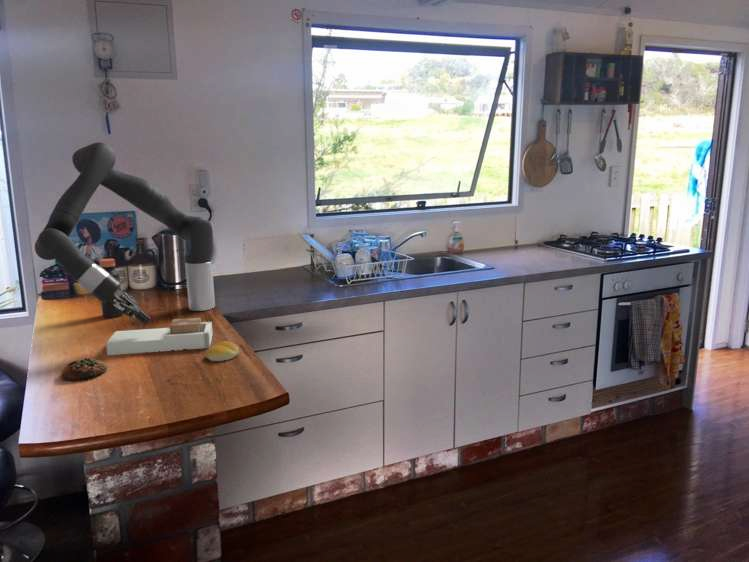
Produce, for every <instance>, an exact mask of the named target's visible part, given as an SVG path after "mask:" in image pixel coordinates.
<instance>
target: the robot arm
mask: <svg viewBox="0 0 749 562" xmlns="http://www.w3.org/2000/svg"><path fill="white" fill-rule="evenodd" d="M115 153H116V152H114V149H113V148H112V147H111V146H110V145H108V144H107V143H104V142H102V141H101V142H94V143H91V144H87V145H86V146H83V147H80V148H79V149H77V150H76V151H74V153H73V154H72V160H71V161H72V164H73V166H74V168H75V169H76V170H77V172H78V173H80V174H79V175H78V176H77V178H76V179H75V180H74V181H73V182H72V184H70V186H69V187H68V188H67V189H66V190H65V191H64V193H63V194H62V195H61V196H60V198H59V199H58V201H57V202H56V204H55V206H54V207H53V209H52V212H51V213H50V216H49V218H48V221H47V224H46V225H45V227H44V228H43V230H42V231H41V232H40V233H39V235H38V236H37V239H36V241H35V244H34V252H35V253H36V255H37V256H38V257H39V258H40V259H42V260H46V261H52V260H55V259H56V260H57V261H58V262H59V263H60V264H61V266H62V270H63V272H65V273H66V274H67V276H69V277H70V278H72V279H73V280H74V281H75V282H77V283H78V285H80V286H81V287H82V288H83V289H84V290H86V291H87V292H88V293H90V295H92V296H93V297H95V298H96V299H97V300H98V301H100V303H101V302H102V303H104V302H106V301H107V300H108V299H109V300H110V301H111V302H112V303H113V305H114V306H115V307H116V308H115V310H116V311H118V312H120V313H123V315H125V316H126V317H129V318H132V317H133V318H136V319H137V320H138V321H140V322H141V323H142V324H143V325H147V324H149V323H148V322H149V321H151V316H149V315H148V314H147V313H146V312H144V311H143V310H142V308H141V305H140V304H139V303H138V301H137V300H136V299H135V298H134V296H133V295H132V294H131V293H127V292H125V291H123V290H122V289H121V290H119V289H118V288H119V287H120V286H122V283H121V281H120V282H119V281H118V280H117V279H116V278H114V277H113V276H112V275H111V274H109V273H108V272H107V271H106V270H104V269H103V268H102V267H100V265H98V264H97V263H95V262H94V261H93V260H92V259H90V257H88V256H86V255H85V254H84V253H83V252H82V251H81V250H80V249H79V247H78V246H77V244H75V243H74V241H73V240H72V239H71V238H70V235H71V233H72V232H73V230H74V229H75V227H76V226H77V225H78V222H79V220H80V218H81V217H82V214H83V213H84V211H85V209H86V207H87V206H88V203H90V200H91V198H92V197H93V195H94V194H95V192H96V191H97V189H98V188H99V186H100V185H101V186H102V187H104V188H107V189H108V190H109V191H111V192H112V193H114V194H116V195H117V196H118V197H120V198H122V199H123V200H125V201H127V202H128V203H130V204H131V205H132V206H133V207H136V208H137V209H138V210H139V211H141V212H143V213H144V214H146V215H147V216H149V217H151V218H153V219H154V220H156V221H158V222H160V223H161V224H163V225H165V226H166V227H167V228H169V229H170V230H171V231H172V232H173V233H175V235H176V236H178V237H179V238H180V239H181V240H184V241H185V242H188V243H190V244H189V245H190V247H189V249H190V250H189V252H186V253H185V255H184V265H185V277H186V289H187V300H188V301H187V302H188V309H189V310H190V311H193V312H202V311H208V310H213V309H214V307H215V308H216V300H215V299H216V298H215V288H214V287H215V286H214V274H213V272H214V271H213V263H212V262H213V261H212V259H213V258H212V255H213V254H214V234H213V233H214V232H213V231H214V230H213V226H212V224H211V222H210V220H208V219H207V218H205V217H202V216H192V215H190V214H187V213H185V212H184V211H182V210H181V209H179V208H178V207H176V206H174V204H173V203H172V202H171V200H170V198H169V197H168V196H167V195H166V193H165V192H164V191H162V190H161V189H160V188H158V187H157V186H155V185H154V184H153V183H151V182H150V181H147V180H146V179H144V178H141V177H138V176H134V175H132V174H128V173H125V172H122V171H120V170H118V169H116V168H114V167H115V164H116V154H115ZM212 308H213V309H212Z"/></svg>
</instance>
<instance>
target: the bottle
mask: <svg viewBox="0 0 749 562" xmlns="http://www.w3.org/2000/svg"><path fill="white" fill-rule="evenodd" d="M98 263H99V266H100V267H102V268H103V269H104V270H106V271H107V272H108V273H109V274H111V275H112V276H113V277H114V278H116V279H117V280H118V281H119V282H121V280H120V279H121V277H120V272H119V271H117V270H116V269H115V267H116V261H115V259H114V258H101V259H99V261H98ZM121 286H122V285H121ZM121 286H120V287H119V288H118V289H119V290H121V291H122V287H121ZM100 305H101V314H102V317H103V318H104V317H106V318H105V319H113V318H112V317H116V318H119V316H120V317H122V316H123V315H124V314H123V313H120V312H118V311H116V310H115V308H116V307H115V306H114V305H113V303H112V302H111V301H110V300H109V299H108V300H107V301H106V302H104V303H102V302H101V301H100Z"/></svg>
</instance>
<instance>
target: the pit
mask: <svg viewBox="0 0 749 562" xmlns="http://www.w3.org/2000/svg"><path fill="white" fill-rule="evenodd" d="M212 324H213V322H212V321H204V322H202V321H201V329H202V332H200V333H186V334H171V335H165V344H166V351H165V352H170V351H171V350H174V351H184V350H183V349H187V350H196V349H197V350H199V349H200V350H201V349H209V348H210V347H211V343H212V340H213V337H212V336H213V335H214V334H213V325H212ZM170 331H171V330H170ZM171 352H172V351H171Z"/></svg>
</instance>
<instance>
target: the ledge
mask: <svg viewBox="0 0 749 562" xmlns="http://www.w3.org/2000/svg"><path fill="white" fill-rule="evenodd" d="M165 335H171V331H170V327H161V328H147V329H145V328H144V329H132V330H117V331H115V332H114V333H113V334H112V335H111V337H110V338H109V339H108V340H107V342H106V343H105V345H106V354H107V356H116V355H117V356H118V355H130V354H131V355H133V354H144V353H146V352H147V353H157V352H159V351H160V352H167V351H166V344H165ZM147 353H146V354H147Z"/></svg>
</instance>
